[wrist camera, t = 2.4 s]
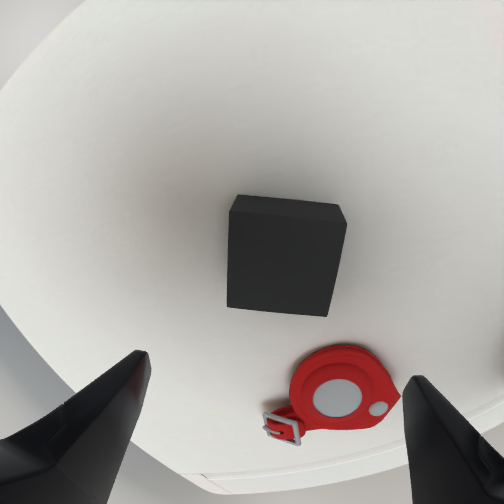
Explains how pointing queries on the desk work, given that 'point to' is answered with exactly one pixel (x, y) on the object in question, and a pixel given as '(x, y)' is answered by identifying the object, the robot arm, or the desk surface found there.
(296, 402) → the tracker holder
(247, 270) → the black block
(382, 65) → the desk surface
